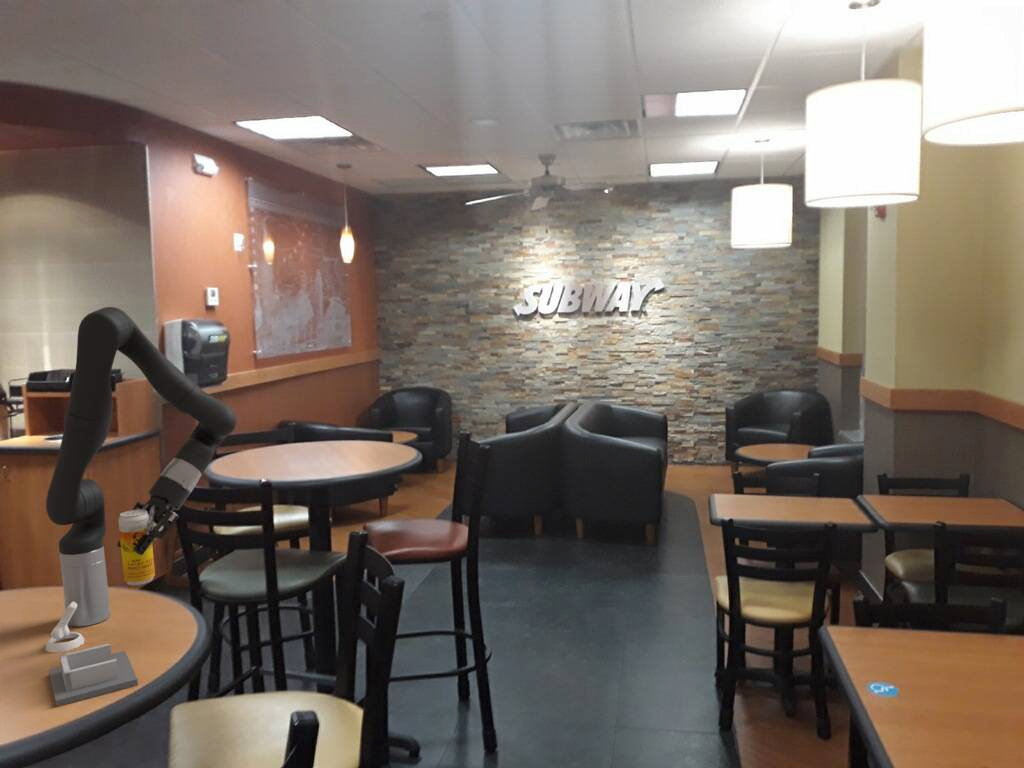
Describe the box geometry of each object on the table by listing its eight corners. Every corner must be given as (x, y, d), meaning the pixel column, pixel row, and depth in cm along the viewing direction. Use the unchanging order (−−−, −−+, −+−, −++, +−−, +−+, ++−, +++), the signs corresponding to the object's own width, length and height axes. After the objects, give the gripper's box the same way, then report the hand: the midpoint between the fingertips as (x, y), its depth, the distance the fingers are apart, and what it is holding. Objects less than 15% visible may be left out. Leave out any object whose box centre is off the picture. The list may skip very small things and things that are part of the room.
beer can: (129, 588, 172) (122, 518, 170) (120, 581, 177) (114, 513, 175) (159, 580, 176) (153, 512, 174) (149, 573, 181) (143, 507, 179)
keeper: (49, 675, 166) (47, 652, 166) (125, 656, 174) (123, 634, 173) (56, 706, 153) (53, 682, 152) (137, 684, 160) (135, 661, 160)
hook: (92, 628, 176) (60, 614, 174) (67, 669, 179) (36, 656, 177) (105, 608, 183) (74, 594, 181) (81, 648, 186) (51, 634, 184)
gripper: (145, 470, 184) (98, 536, 176) (182, 477, 175) (133, 547, 167) (169, 488, 189) (124, 553, 181) (206, 496, 180) (160, 564, 172)
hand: (129, 550), depth 174 cm, fingers closed on beer can, 6 cm apart
